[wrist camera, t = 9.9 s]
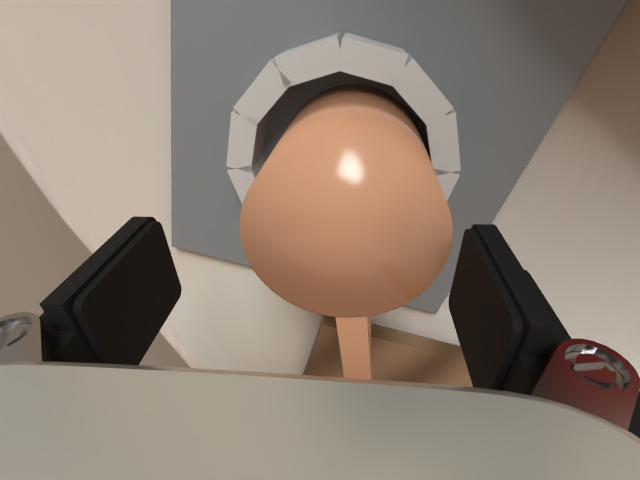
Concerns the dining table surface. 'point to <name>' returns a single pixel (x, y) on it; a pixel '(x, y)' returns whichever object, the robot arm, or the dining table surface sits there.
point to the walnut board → (392, 357)
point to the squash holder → (377, 71)
